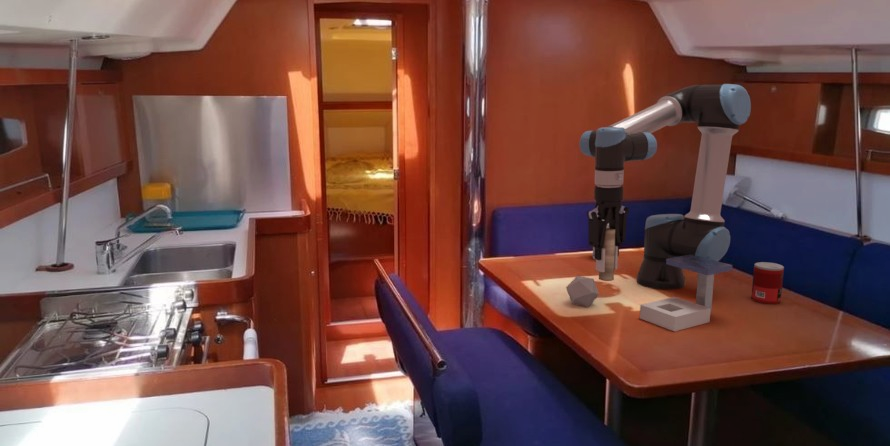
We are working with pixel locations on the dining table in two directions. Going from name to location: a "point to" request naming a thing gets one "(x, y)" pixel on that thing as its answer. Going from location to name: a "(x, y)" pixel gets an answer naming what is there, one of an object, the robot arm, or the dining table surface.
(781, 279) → the canned food
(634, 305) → the dining table surface
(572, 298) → the die
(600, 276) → the peg
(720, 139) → the robot arm
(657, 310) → the socket block
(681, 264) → the slate blue panel
